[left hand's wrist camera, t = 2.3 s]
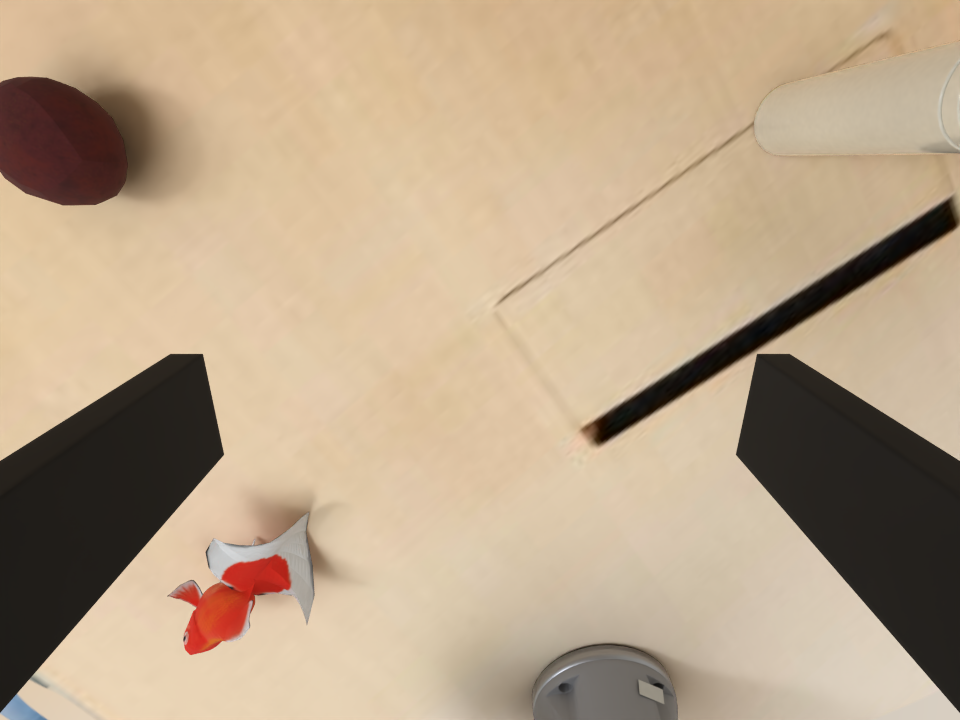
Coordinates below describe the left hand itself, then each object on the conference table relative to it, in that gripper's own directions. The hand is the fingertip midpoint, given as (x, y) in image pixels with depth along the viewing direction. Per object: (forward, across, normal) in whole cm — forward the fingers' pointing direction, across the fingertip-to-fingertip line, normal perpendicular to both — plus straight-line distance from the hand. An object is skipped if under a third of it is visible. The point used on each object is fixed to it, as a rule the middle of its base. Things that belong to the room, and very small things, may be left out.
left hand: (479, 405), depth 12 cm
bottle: (+28, -21, -8) cm, 36 cm away
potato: (+28, +27, -6) cm, 39 cm away
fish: (+28, +21, +29) cm, 45 cm away
